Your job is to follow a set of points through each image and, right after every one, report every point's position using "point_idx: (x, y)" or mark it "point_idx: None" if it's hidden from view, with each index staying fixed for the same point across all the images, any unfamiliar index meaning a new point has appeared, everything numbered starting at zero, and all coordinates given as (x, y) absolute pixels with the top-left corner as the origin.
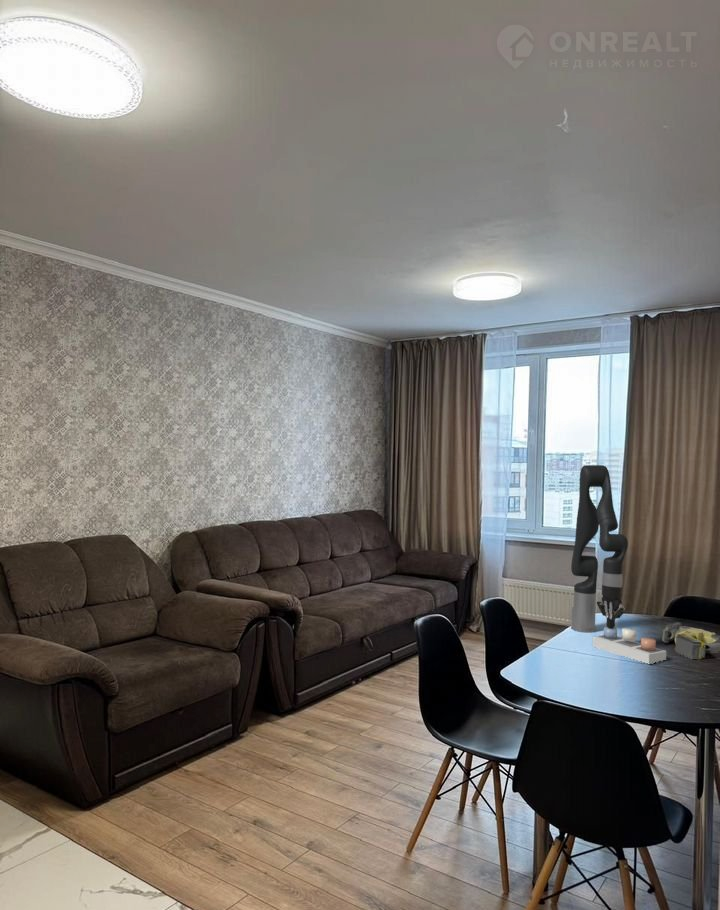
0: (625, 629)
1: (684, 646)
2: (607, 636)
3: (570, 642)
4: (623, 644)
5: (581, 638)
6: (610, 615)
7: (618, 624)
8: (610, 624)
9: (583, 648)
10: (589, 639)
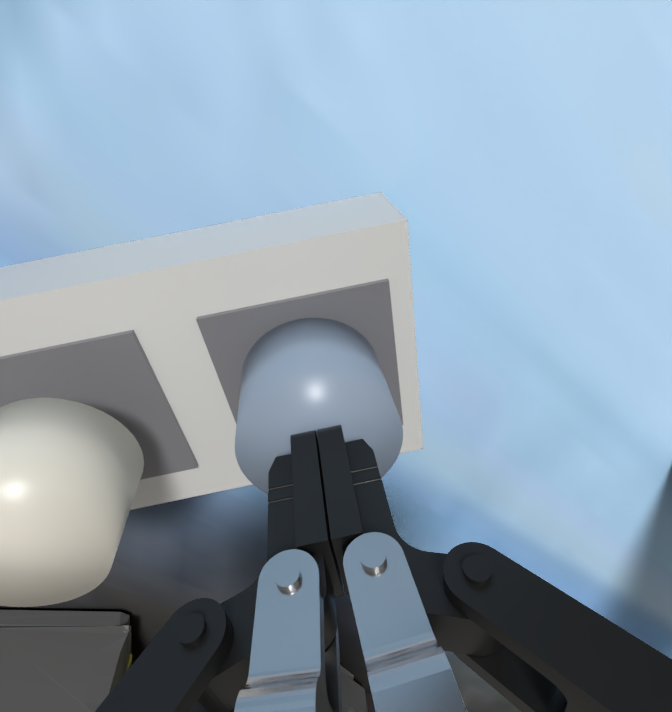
0: (24, 525)
1: (4, 686)
2: (280, 336)
3: (598, 30)
4: (30, 351)
5: (614, 267)
6: (296, 622)
7: (643, 610)
8: (291, 475)
9: (358, 9)
10: (558, 316)
